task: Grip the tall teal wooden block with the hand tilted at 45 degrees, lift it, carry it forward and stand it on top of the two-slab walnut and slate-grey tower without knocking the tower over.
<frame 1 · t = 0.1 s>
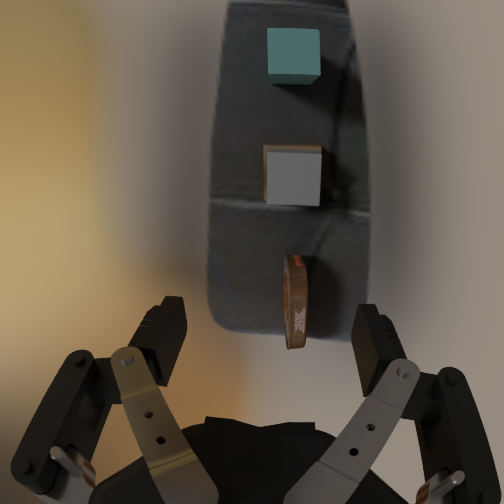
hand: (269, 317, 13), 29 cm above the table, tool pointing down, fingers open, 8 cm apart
tower base: (291, 168, 39), on the table, touching tower top
block: (290, 66, 33), on the table
tower top: (292, 173, 36), point 3 cm above the table, touching tower base
tin: (293, 287, 47), on the table
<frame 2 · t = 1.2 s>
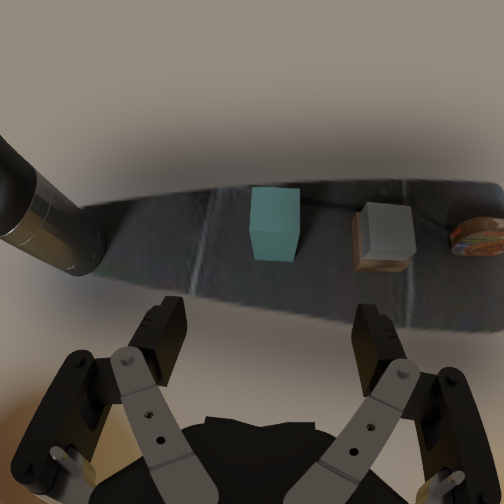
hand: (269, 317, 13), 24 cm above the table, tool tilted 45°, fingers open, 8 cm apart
tower base: (375, 247, 39), on the table, touching tower top
block: (274, 242, 40), on the table
tower top: (382, 237, 36), point 3 cm above the table, touching tower base
tin: (474, 246, 38), on the table
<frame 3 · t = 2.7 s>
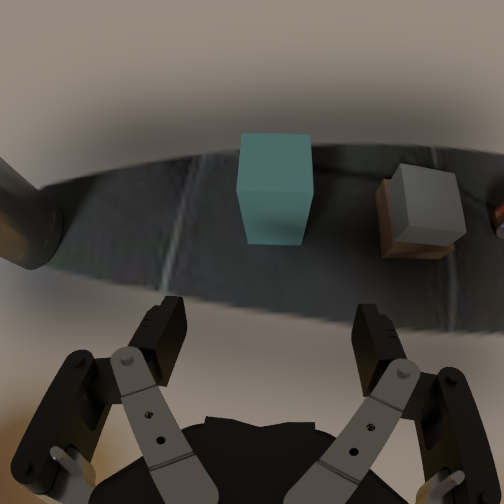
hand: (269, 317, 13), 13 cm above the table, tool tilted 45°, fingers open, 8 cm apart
tower base: (407, 227, 29), on the table, touching tower top
block: (275, 220, 30), on the table
tower top: (419, 214, 25), point 3 cm above the table, touching tower base
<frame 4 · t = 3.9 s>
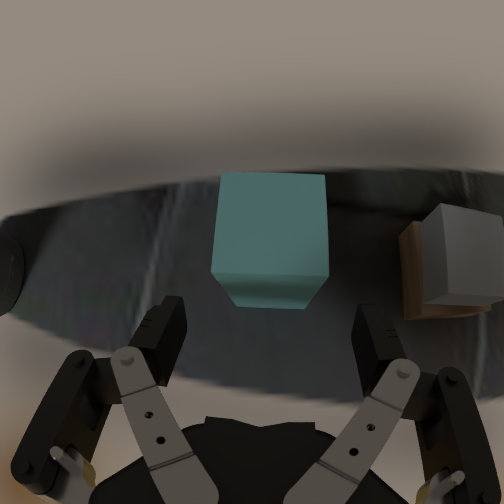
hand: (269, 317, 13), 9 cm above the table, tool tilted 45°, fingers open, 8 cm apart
tower base: (435, 278, 22), on the table, touching tower top
block: (272, 275, 23), on the table
tower top: (454, 265, 19), point 3 cm above the table, touching tower base
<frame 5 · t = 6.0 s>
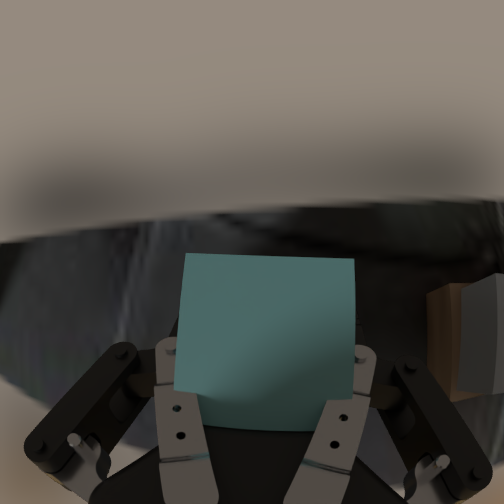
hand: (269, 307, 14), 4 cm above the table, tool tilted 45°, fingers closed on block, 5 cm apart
tower base: (463, 342, 17), on the table, touching tower top
block: (269, 347, 17), on the table, touching gripper
tower top: (494, 338, 13), point 3 cm above the table, touching tower base
when the fingers open (13 cm above the table, at t = 11.1 s): block drops 2 cm, resting on tower top.
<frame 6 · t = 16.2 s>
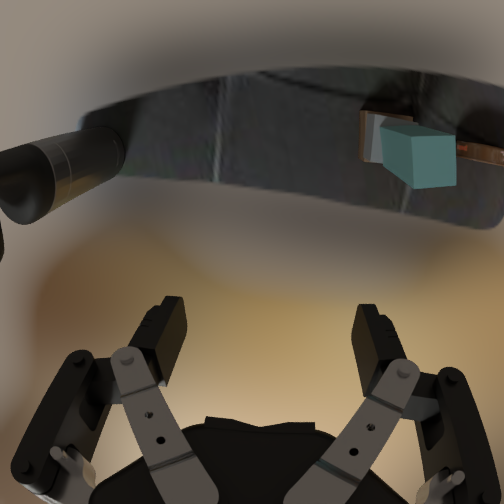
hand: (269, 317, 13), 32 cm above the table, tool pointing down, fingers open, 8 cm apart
tower base: (381, 136, 38), on the table, touching tower top
block: (399, 145, 32), point 7 cm above the table, touching tower top
tower top: (385, 138, 35), point 3 cm above the table, touching block, tower base
tin: (479, 150, 36), on the table
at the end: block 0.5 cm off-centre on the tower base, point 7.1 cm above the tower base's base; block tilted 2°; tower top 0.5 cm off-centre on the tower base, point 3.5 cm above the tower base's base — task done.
